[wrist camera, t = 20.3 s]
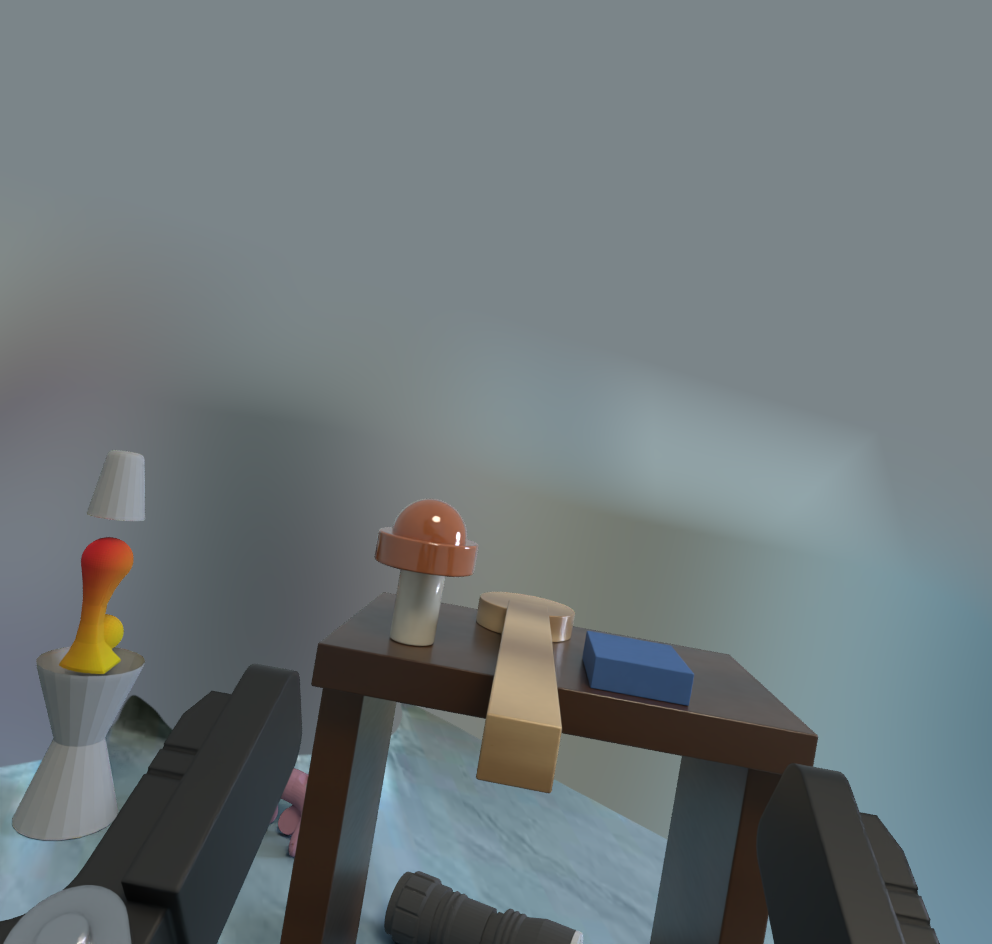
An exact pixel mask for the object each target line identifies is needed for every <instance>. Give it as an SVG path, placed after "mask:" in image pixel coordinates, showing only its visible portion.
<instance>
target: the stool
mask: <svg viewBox="0 0 992 944" xmlns="http://www.w3.org/2000/svg"><path fill="white" fill-rule="evenodd" d="M395 600H396V594H391V593H385V592H383V593H382V594H381V595H379V596H378V597H377V598H376V599H374V600H373V601H372V602H370V603H369V604H368V605H367V606H365V607H364V608H363V609H362V610H360V611H359V612H358V613H356V614H355V615H354V616H353V617H351V618H350V619H349V620H348V621H346V622H345V623H344V624H343V625H341V626H340V627H339V628H337V629H336V630H335V631H333V632H332V633H331V634H330V635H328V636H327V637H326V638H325V639H323V640H322V641H321V642H319V643H318V648H317V653H316V660H315V666H314V671H313V678H312V683H311V684H312V686H315V687H320V688H323V691H322V697H321V703H320V709H319V715H318V721H317V727H316V733H315V739H314V745H313V751H312V757H311V763H310V768H309V774H308V780H307V786H306V792H305V798H304V804H303V810H302V816H301V822H300V828H299V834H298V840H297V846H296V852H295V858H294V863H293V869H292V875H291V881H290V887H289V893H288V899H287V905H286V911H285V917H284V923H283V929H282V935H281V941H280V944H356V939H357V933H358V927H359V921H360V915H361V909H362V903H363V897H364V892H365V886H366V880H367V874H368V868H369V862H370V856H371V850H372V844H373V838H374V832H375V826H376V821H377V815H378V809H379V803H380V797H381V791H382V785H383V779H384V773H385V767H386V761H387V755H388V749H389V744H390V738H391V732H392V726H393V720H394V714H395V708H396V702H400V703H405V704H410V705H416V706H421V707H426V708H431V709H437V710H442V711H447V712H453V713H458V714H463V715H469V716H474V717H479V718H484V719H486V715H487V710H488V705H489V699H490V694H491V689H492V684H493V679H494V674H495V668H496V663H497V658H498V653H499V648H500V643H501V637H502V634H500V633H497V632H494V631H491V630H489V629H487V628H484V627H483V626H481V625H480V624H478V623H477V621H476V617H477V611H478V609H473V608H468V607H463V606H457V605H452V604H446V603H441V605H440V611H439V617H438V623H437V629H436V635H435V641H434V643H433V644H432V645H429V646H411V645H405V644H401V643H398V642H396V641H394V640H392V639H391V638H390V629H391V624H392V618H393V612H394V606H395ZM587 631H593V632H598V633H604V634H610V635H615V636H621V637H626V638H632V639H637V640H643V641H648V642H654V643H659V644H665V645H670V646H672V647H673V649H674V650H675V651H676V652H677V654H678V655H679V656H680V657H681V659H682V660H683V661H684V662H685V663H686V665H687V666H688V667H689V668H690V670H691V671H692V672H693V673H694V679H693V685H692V691H691V697H690V702H689V706H685V705H679V704H674V703H668V702H663V701H658V700H652V699H647V698H641V697H636V696H631V695H625V694H620V693H614V692H609V691H604V690H598V689H593V688H590V684H589V680H588V677H587V673H586V669H585V665H584V662H583V658H582V656H583V650H584V644H585V638H586V632H587ZM552 646H553V654H554V663H555V672H556V680H557V689H558V698H559V707H560V715H561V724H562V733H564V734H569V735H575V736H580V737H585V738H590V739H596V740H601V741H606V742H611V743H617V744H622V745H628V746H633V747H638V748H643V749H648V750H654V751H659V752H664V753H670V754H675V755H680V756H682V759H681V765H680V771H679V776H678V783H677V788H676V794H675V800H674V806H673V812H672V817H671V823H670V829H669V835H668V841H667V847H666V852H665V858H664V864H663V870H662V876H661V882H660V888H659V893H658V899H657V905H656V911H655V917H654V923H653V929H652V934H651V940H650V944H764V938H765V932H766V927H767V921H768V910H767V905H766V900H765V895H764V890H763V885H762V880H761V875H760V870H759V865H758V859H757V849H756V839H757V829H758V824H759V821H760V818H761V816H762V814H763V812H764V810H765V808H766V806H767V804H768V802H769V800H770V798H771V796H772V794H773V792H774V790H775V788H776V786H777V784H778V782H779V780H780V778H781V776H782V774H783V772H784V770H785V769H786V767H787V766H788V765H789V764H791V763H794V764H800V765H805V766H811V767H813V764H814V758H815V752H816V746H817V740H818V736H817V734H815V733H814V732H813V731H812V730H811V729H810V728H809V727H808V726H807V725H806V724H804V723H803V722H802V721H801V720H800V719H799V718H798V717H797V716H796V715H794V713H793V712H791V711H790V710H789V709H788V708H787V707H786V706H785V705H784V704H783V703H781V702H780V701H779V700H778V699H777V698H776V697H775V696H774V695H773V694H772V693H771V692H770V691H768V690H767V689H766V688H765V687H764V686H763V685H762V684H761V683H760V682H759V681H758V680H756V679H755V678H754V677H753V676H752V675H751V674H750V673H749V672H747V670H745V669H744V668H743V667H742V666H741V665H740V664H739V663H738V662H737V661H736V660H734V659H733V658H732V657H731V656H730V655H728V654H723V653H718V652H712V651H706V650H701V649H695V648H689V647H684V646H678V645H673V644H668V643H662V642H656V641H651V640H646V639H640V638H634V637H629V636H623V635H617V634H612V633H607V632H601V631H596V630H590V629H584V628H579V627H574V626H573V628H572V634H571V638H570V639H569V640H566V641H562V642H552Z"/></svg>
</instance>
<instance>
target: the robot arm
mask: <svg viewBox="0 0 992 944" xmlns="http://www.w3.org/2000/svg"><path fill="white" fill-rule="evenodd" d="M301 737H302V719H301V696H300V677H299V673H298V672H297V671H292V670H287V669H281V668H276V667H270V666H265V665H260V664H252V665H250V666H249V667H248V669H247V670H246V671H245V673H244V674H243V676H242V678H241V679H240V681H239V683H238V684H237V686H236V688H235V689H234V691H233V693H232V694H227V693H221V692H215V691H211V692H210V693H209V694H208V695H206V696H205V697H204V698H202V699H201V700H200V701H199V702H197V703H196V704H195V705H194V706H192V707H191V708H190V709H189V710H187V711H186V712H185V713H184V714H183V715H182V716H181V718H180V720H179V721H178V723H177V724H176V726H175V727H174V729H173V730H172V732H171V733H170V735H169V736H168V738H167V740H166V741H165V743H164V747H163V749H160V750H159V752H158V753H157V755H156V756H155V758H154V760H153V761H152V763H151V764H150V766H149V767H148V772H147V773H146V774H144V775H143V776H142V778H141V780H140V781H139V783H138V784H137V786H136V787H135V789H134V790H133V792H132V793H131V795H130V796H129V798H128V800H127V801H126V803H125V804H124V806H123V807H122V809H121V810H120V812H119V813H118V815H117V817H116V818H115V820H114V821H113V823H112V824H111V826H110V827H109V829H108V830H107V832H106V833H105V835H104V837H103V838H102V840H101V841H100V843H99V844H98V846H97V847H96V849H95V850H94V852H93V853H92V855H91V857H90V858H89V860H88V861H87V863H86V864H85V866H84V867H83V868H82V870H81V871H80V873H79V874H78V875H77V876H76V877H75V879H74V880H73V881H72V882H71V883H70V884H69V885H68V886H67V887H66V888H65V889H63V890H62V891H60V892H58V893H56V894H54V895H51V896H50V897H48V898H46V899H45V900H43V901H41V902H40V903H38V904H37V905H36V906H35V907H33V908H32V909H31V910H29V911H28V912H27V913H26V914H24V915H21V916H18V917H15V918H13V919H9V920H5V921H0V944H217V942H218V940H219V937H220V935H221V933H222V931H223V928H224V926H225V924H226V922H227V919H228V917H229V915H230V912H231V910H232V908H233V906H234V903H235V901H236V899H237V897H238V894H239V892H240V890H241V887H242V885H243V883H244V881H245V878H246V876H247V874H248V871H249V869H250V867H251V865H252V862H253V860H254V858H255V856H256V853H257V851H258V849H259V846H260V844H261V842H262V840H263V837H264V835H265V833H266V831H267V828H268V826H269V824H270V821H271V819H272V817H273V815H274V812H275V810H276V808H277V806H278V803H279V801H280V799H281V796H282V794H283V792H284V790H285V787H286V785H287V783H288V780H289V778H290V776H291V774H292V771H293V769H294V766H295V763H296V760H297V757H298V753H299V749H300V744H301ZM756 849H757V859H758V865H759V870H760V875H761V880H762V885H763V890H764V895H765V900H766V905H767V910H768V915H769V920H770V925H771V929H772V934H773V939H774V944H940V943H939V941H938V938H937V936H936V933H935V931H934V929H933V928H931V927H930V918H929V915H928V913H927V910H926V908H925V905H924V902H923V900H922V897H921V896H919V895H918V892H917V890H918V887H917V885H916V882H915V880H914V877H913V874H912V872H911V869H910V867H909V864H908V862H907V859H906V856H905V854H904V851H903V850H902V848H901V847H900V846H899V844H898V843H897V842H896V840H895V839H894V838H893V836H892V835H891V834H890V833H889V832H888V830H887V828H886V827H885V826H884V824H883V823H882V822H881V821H880V819H879V818H878V817H877V815H871V814H866V813H860V812H859V810H858V807H857V804H856V801H855V798H854V796H853V792H852V790H851V787H850V785H849V782H848V780H847V778H846V777H845V776H844V774H842V773H841V772H838V771H833V770H828V769H822V768H816V767H811V766H805V765H800V764H794V763H791V764H789V765H788V766H787V767H786V769H785V770H784V772H783V774H782V776H781V778H780V780H779V782H778V784H777V786H776V788H775V790H774V792H773V794H772V796H771V798H770V800H769V802H768V804H767V806H766V808H765V810H764V812H763V814H762V816H761V818H760V821H759V824H758V829H757V839H756Z"/></svg>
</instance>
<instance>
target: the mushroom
mask: <svg viewBox="0 0 992 944" xmlns="http://www.w3.org/2000/svg"><path fill="white" fill-rule="evenodd" d="M477 551H478V544H476V543H475V542H473V541H470V540H467V531H466V526H465V523H464V521H463V518H462V517H461V515H460V514H459V513H458V511H457V510H456V509H455V508H453V507H452V506H451V505H450V504H448V503H446V502H444V501H441V500H437V499H422V500H418V501H415V502H413V503H411V504H409V505H408V506H406V507H405V508H404V509H403V510H402V511H401V512H400V513H399V515H398V516H397V518H396V520H395V522H394V524H393V527H386V528H381V529H380V530H379V533H378V538H377V544H376V550H375V556H374V557H375V560H377V561H378V562H380V563H382V564H385V565H387V566H390V567H394V568H397V569H401V570H400V577H399V583H398V588H397V594H396V600H395V606H394V612H393V618H392V624H391V629H390V638H391V639H392V640H394V641H396V642H398V643H401V644H405V645H411V646H429V645H432V644H433V643H434V641H435V635H436V629H437V623H438V617H439V611H440V605H441V599H442V593H443V588H444V582H445V576H447V577H464V576H470V575H472V574H473V573H474V569H475V563H476V557H477Z"/></svg>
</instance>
